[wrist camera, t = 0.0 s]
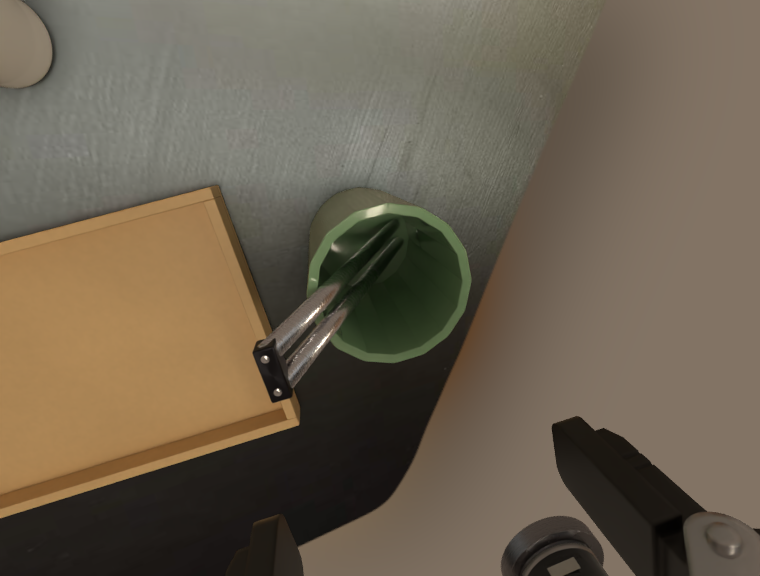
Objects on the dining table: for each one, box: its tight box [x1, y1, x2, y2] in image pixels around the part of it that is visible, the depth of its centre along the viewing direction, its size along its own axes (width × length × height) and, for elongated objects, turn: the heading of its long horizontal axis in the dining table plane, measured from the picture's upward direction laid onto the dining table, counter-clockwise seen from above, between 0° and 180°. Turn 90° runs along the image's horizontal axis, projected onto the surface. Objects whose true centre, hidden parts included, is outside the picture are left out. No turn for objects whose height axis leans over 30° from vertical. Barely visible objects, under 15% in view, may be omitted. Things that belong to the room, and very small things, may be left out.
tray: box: [0, 185, 300, 518], centre depth 31 cm, size 20×33×3 cm, turn 104°
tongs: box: [252, 219, 404, 403], centre depth 24 cm, size 2×9×18 cm, turn 104°
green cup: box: [307, 187, 471, 363], centre depth 27 cm, size 8×8×13 cm
